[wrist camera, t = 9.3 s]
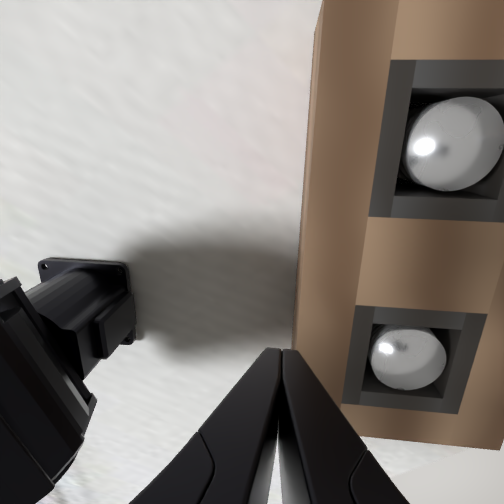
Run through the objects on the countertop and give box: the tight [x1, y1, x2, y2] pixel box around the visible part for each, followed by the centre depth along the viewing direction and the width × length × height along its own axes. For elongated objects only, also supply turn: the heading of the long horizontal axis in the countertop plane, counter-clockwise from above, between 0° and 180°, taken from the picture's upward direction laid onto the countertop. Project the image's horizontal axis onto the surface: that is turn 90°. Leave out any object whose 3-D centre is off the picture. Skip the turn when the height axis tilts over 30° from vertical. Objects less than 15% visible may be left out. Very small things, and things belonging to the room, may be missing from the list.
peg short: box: [397, 97, 504, 191], centre depth 16 cm, size 4×4×5 cm
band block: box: [291, 0, 504, 450], centre depth 18 cm, size 12×22×5 cm, turn 179°
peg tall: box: [367, 323, 446, 390], centre depth 19 cm, size 4×4×5 cm
